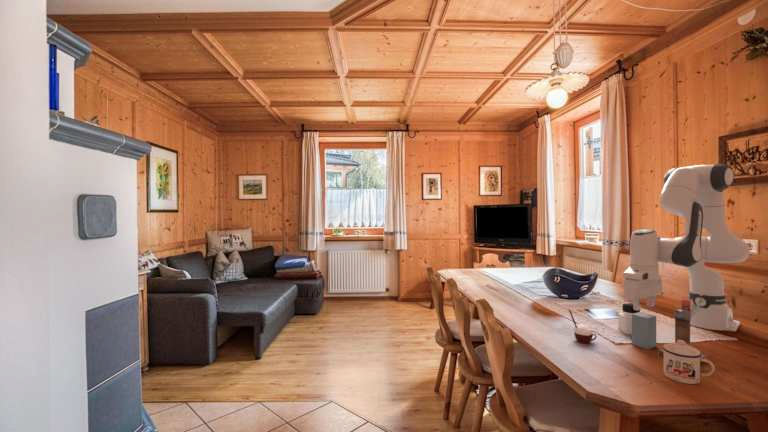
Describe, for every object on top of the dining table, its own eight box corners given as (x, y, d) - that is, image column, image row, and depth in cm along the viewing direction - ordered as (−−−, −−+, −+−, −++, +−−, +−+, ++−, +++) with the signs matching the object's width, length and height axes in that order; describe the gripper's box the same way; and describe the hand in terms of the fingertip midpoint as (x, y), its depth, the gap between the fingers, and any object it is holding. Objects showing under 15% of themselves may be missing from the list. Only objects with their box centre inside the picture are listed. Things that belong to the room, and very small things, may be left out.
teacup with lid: (661, 378, 107) (661, 341, 107) (663, 367, 114) (663, 333, 113) (714, 392, 99) (715, 351, 98) (714, 379, 105) (714, 342, 105)
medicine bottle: (645, 335, 141) (645, 306, 141) (625, 334, 143) (625, 305, 142) (636, 329, 148) (636, 301, 148) (617, 328, 150) (617, 301, 149)
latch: (701, 311, 129) (701, 295, 128) (689, 322, 118) (689, 304, 117) (686, 308, 132) (686, 293, 132) (672, 318, 121) (672, 302, 121)
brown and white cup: (597, 342, 136) (598, 312, 135) (593, 347, 131) (594, 316, 131) (570, 336, 142) (572, 307, 142) (566, 339, 138) (567, 310, 137)
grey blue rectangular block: (639, 341, 135) (639, 311, 135) (656, 346, 130) (656, 315, 130) (631, 344, 133) (631, 314, 133) (648, 349, 128) (648, 318, 128)
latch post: (672, 349, 128) (672, 313, 127) (707, 359, 119) (707, 321, 119) (658, 354, 123) (658, 318, 123) (693, 366, 114) (693, 326, 114)
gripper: (648, 268, 138) (648, 302, 139) (619, 273, 129) (620, 310, 129) (667, 270, 133) (667, 306, 133) (638, 276, 123) (638, 314, 124)
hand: (643, 308), depth 131 cm, fingers open, 8 cm apart
